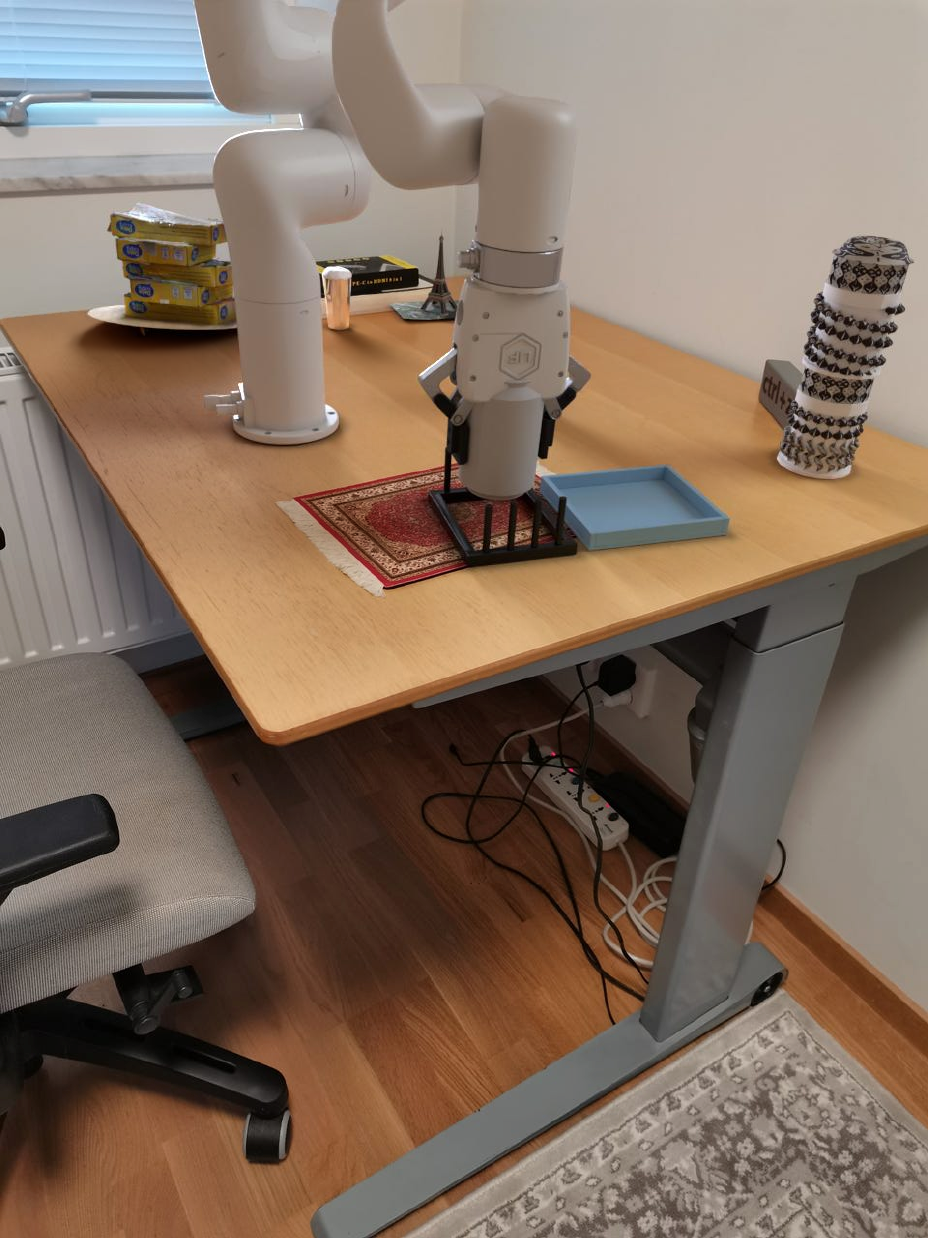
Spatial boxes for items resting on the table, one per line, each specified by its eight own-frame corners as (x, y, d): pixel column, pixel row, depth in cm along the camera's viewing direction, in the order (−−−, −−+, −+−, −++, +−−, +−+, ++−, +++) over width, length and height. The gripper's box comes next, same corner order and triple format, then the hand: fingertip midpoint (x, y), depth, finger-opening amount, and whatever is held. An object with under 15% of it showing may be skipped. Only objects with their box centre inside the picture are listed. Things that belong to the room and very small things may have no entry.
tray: (588, 551, 87) (591, 533, 86) (539, 491, 98) (541, 475, 97) (726, 534, 91) (730, 518, 90) (665, 479, 102) (668, 464, 101)
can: (547, 484, 90) (562, 366, 83) (509, 512, 85) (522, 388, 78) (483, 462, 93) (493, 347, 86) (442, 488, 88) (450, 367, 81)
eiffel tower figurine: (472, 302, 160) (476, 221, 152) (490, 319, 152) (495, 234, 144) (389, 305, 156) (389, 222, 148) (403, 322, 148) (404, 235, 140)
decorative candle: (829, 447, 112) (892, 231, 98) (869, 479, 104) (943, 250, 90) (760, 448, 110) (814, 230, 96) (796, 481, 103) (860, 249, 89)
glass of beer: (356, 332, 142) (354, 265, 137) (322, 330, 142) (319, 263, 137) (359, 323, 146) (358, 258, 140) (326, 322, 146) (323, 256, 140)
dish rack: (467, 567, 84) (470, 509, 80) (427, 500, 95) (429, 447, 91) (576, 554, 87) (584, 498, 83) (526, 491, 98) (531, 439, 94)
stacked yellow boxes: (153, 298, 152) (138, 190, 143) (286, 318, 147) (279, 206, 137) (56, 339, 133) (31, 216, 123) (205, 363, 127) (190, 236, 118)
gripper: (429, 278, 72) (421, 480, 82) (628, 275, 76) (597, 466, 86) (406, 254, 77) (401, 445, 87) (592, 253, 82) (567, 434, 92)
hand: (498, 455), depth 87 cm, fingers closed on can, 7 cm apart
